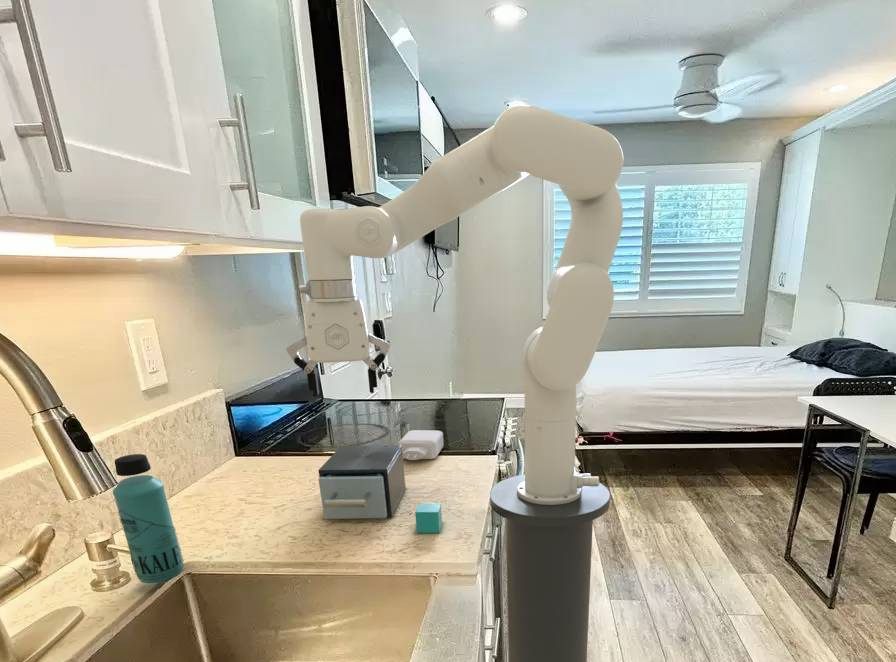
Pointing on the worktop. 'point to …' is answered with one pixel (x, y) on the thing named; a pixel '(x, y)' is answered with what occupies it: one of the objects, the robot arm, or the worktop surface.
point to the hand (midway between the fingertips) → (344, 393)
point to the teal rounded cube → (428, 518)
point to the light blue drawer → (353, 496)
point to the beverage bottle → (147, 521)
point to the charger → (421, 444)
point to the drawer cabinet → (371, 468)
